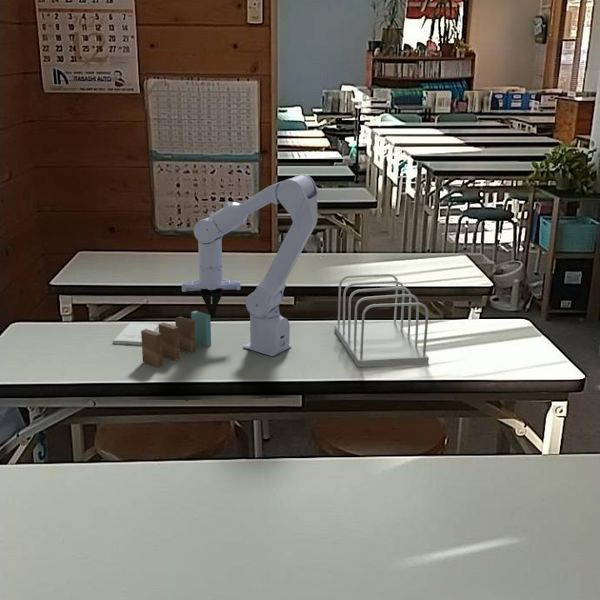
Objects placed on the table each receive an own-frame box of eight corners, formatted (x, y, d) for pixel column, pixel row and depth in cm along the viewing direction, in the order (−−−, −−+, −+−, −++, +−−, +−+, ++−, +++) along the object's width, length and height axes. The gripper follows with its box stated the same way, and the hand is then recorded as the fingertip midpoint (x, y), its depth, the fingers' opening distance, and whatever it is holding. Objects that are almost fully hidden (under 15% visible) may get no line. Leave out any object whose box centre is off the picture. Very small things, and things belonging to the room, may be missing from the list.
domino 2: (165, 353, 179) (163, 322, 177) (179, 358, 176) (178, 327, 174) (160, 355, 178) (158, 324, 175) (174, 360, 175) (173, 329, 173)
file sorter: (428, 364, 175) (433, 302, 170) (358, 369, 172) (360, 306, 167) (396, 327, 199) (400, 272, 194) (333, 331, 195) (335, 274, 190)
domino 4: (196, 340, 188) (195, 310, 185) (211, 344, 185) (210, 314, 182) (192, 342, 186) (191, 312, 184) (206, 346, 183) (205, 316, 181)
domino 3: (181, 346, 183) (180, 316, 181) (195, 351, 181) (194, 320, 178) (176, 348, 182) (175, 318, 180) (191, 353, 179) (190, 322, 177)
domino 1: (148, 360, 175) (146, 328, 172) (162, 365, 172) (161, 333, 170) (142, 362, 174) (141, 330, 171) (157, 367, 171) (156, 335, 168)
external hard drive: (159, 330, 196) (144, 347, 184) (129, 328, 196) (112, 345, 185) (158, 324, 195) (144, 341, 183) (128, 322, 196) (112, 339, 184)
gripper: (181, 270, 177) (183, 323, 182) (241, 268, 180) (241, 321, 184) (180, 263, 184) (182, 314, 188) (238, 261, 186) (239, 311, 191)
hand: (211, 317), depth 187 cm, fingers closed
